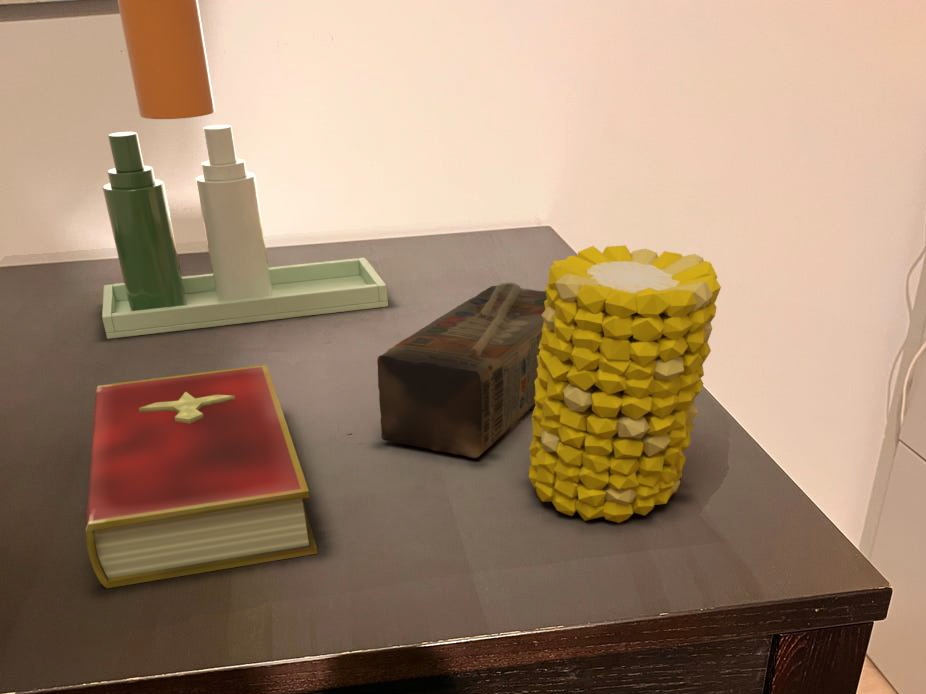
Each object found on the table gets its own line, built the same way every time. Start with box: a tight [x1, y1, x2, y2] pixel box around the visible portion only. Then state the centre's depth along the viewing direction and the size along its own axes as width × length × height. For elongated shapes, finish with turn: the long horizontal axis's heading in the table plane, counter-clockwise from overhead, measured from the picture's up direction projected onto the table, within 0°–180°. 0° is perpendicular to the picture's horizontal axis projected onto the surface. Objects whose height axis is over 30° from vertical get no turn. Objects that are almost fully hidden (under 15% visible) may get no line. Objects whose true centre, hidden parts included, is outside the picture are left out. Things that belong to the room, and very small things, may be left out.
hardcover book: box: [85, 364, 319, 589], centre depth 63 cm, size 12×21×4 cm, turn 16°
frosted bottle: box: [195, 124, 272, 302], centre depth 92 cm, size 5×5×15 cm
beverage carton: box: [376, 281, 547, 459], centre depth 73 cm, size 8×19×7 cm, turn 156°
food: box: [528, 244, 722, 524], centre depth 58 cm, size 15×12×10 cm
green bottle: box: [102, 131, 187, 311], centre depth 91 cm, size 5×5×15 cm
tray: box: [101, 257, 389, 340], centre depth 96 cm, size 26×11×2 cm, turn 106°
